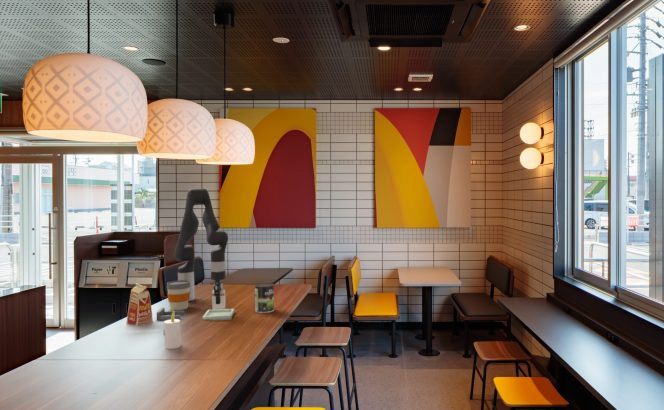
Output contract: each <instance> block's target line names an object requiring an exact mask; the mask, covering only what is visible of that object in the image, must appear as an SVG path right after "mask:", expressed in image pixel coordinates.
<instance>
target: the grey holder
mask: <svg viewBox="0 0 664 410" xmlns="http://www.w3.org/2000/svg"><path fill="white" fill-rule="evenodd" d="M173 311H175V317H174V319H179V320H180V321H182V320H184V318H186V316H187V315H188V314H187V313H185V310H170V311H169V310H168V311H167V310H166V309H165V307H161V308H160V309H159V310H158V311H157V312H156V320H155V321H156V322H160V321H161V322H164V321H166V320H170V319H171V316H172V313H173Z"/></svg>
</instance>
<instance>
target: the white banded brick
mask: <svg viewBox="0 0 664 410" xmlns="http://www.w3.org/2000/svg"><path fill="white" fill-rule="evenodd" d="M216 294H218V293H216ZM220 295H221V296H220V304H216V297H215V296H214V289H213V290H211V301H212V303H211V307H212V309H211V310H215V309H226V289H223V290H221V292H220Z"/></svg>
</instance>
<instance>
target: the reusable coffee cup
mask: <svg viewBox="0 0 664 410" xmlns="http://www.w3.org/2000/svg"><path fill="white" fill-rule="evenodd" d="M166 290H167V300H168V303H169V307H170V311H184V310H186V309H188V308H189V307H188V305H189V301H188V300H189V298H190V281H188V280H178V279H177V280H172V281H167V283H166Z"/></svg>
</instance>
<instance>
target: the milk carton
mask: <svg viewBox="0 0 664 410" xmlns="http://www.w3.org/2000/svg"><path fill="white" fill-rule="evenodd" d="M147 288H148V286H145V285H141V284H140V283H137V282H136V283H135V286H133V288H131V290H130V294H129V295H130V296H129V303H128V310H127V317H126V323H125V324H126V325H130V326H131V325H132V326H135V327H137V326H142V325H146V324H148V323H151V322H153V311H152V303H151V295H150V292H149V290H148V289H147Z"/></svg>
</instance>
